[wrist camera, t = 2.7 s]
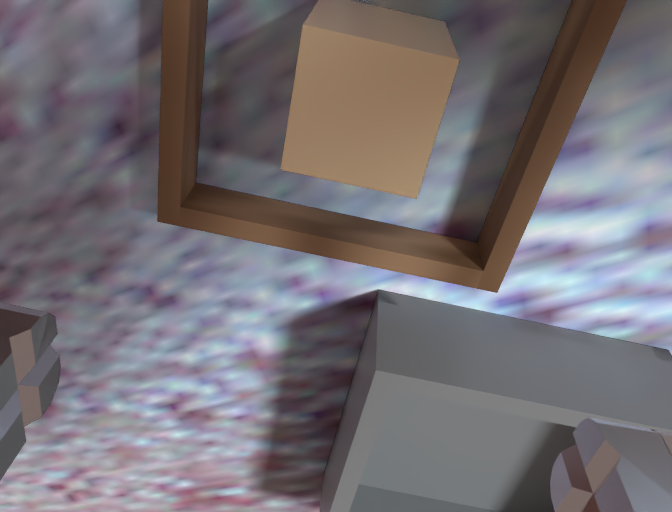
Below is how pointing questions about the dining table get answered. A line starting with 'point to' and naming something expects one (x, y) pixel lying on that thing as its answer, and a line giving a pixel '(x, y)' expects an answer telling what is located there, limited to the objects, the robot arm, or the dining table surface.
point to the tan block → (368, 96)
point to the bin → (478, 408)
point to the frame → (358, 233)
